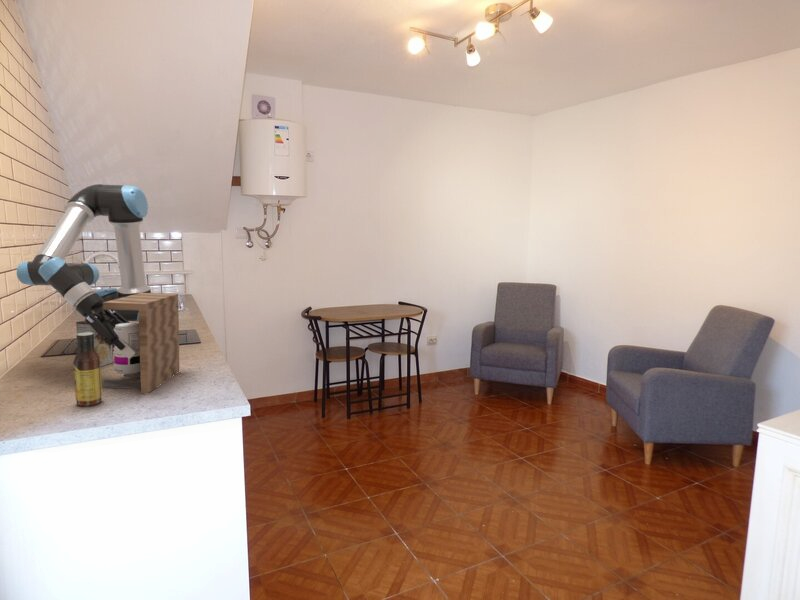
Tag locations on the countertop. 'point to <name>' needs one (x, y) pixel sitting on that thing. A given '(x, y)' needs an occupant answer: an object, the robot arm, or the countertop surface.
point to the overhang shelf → (152, 338)
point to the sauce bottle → (87, 371)
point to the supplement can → (131, 337)
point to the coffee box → (97, 343)
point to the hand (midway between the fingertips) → (139, 352)
